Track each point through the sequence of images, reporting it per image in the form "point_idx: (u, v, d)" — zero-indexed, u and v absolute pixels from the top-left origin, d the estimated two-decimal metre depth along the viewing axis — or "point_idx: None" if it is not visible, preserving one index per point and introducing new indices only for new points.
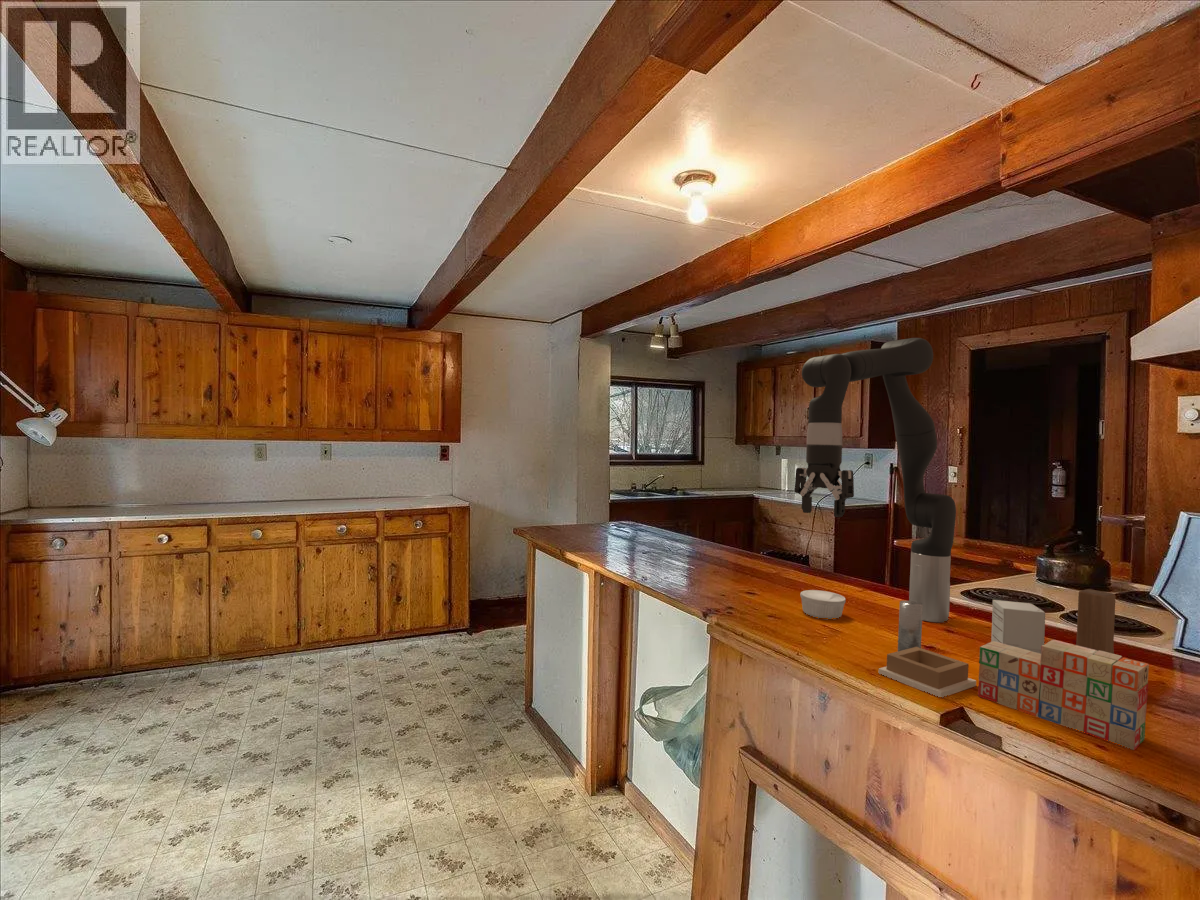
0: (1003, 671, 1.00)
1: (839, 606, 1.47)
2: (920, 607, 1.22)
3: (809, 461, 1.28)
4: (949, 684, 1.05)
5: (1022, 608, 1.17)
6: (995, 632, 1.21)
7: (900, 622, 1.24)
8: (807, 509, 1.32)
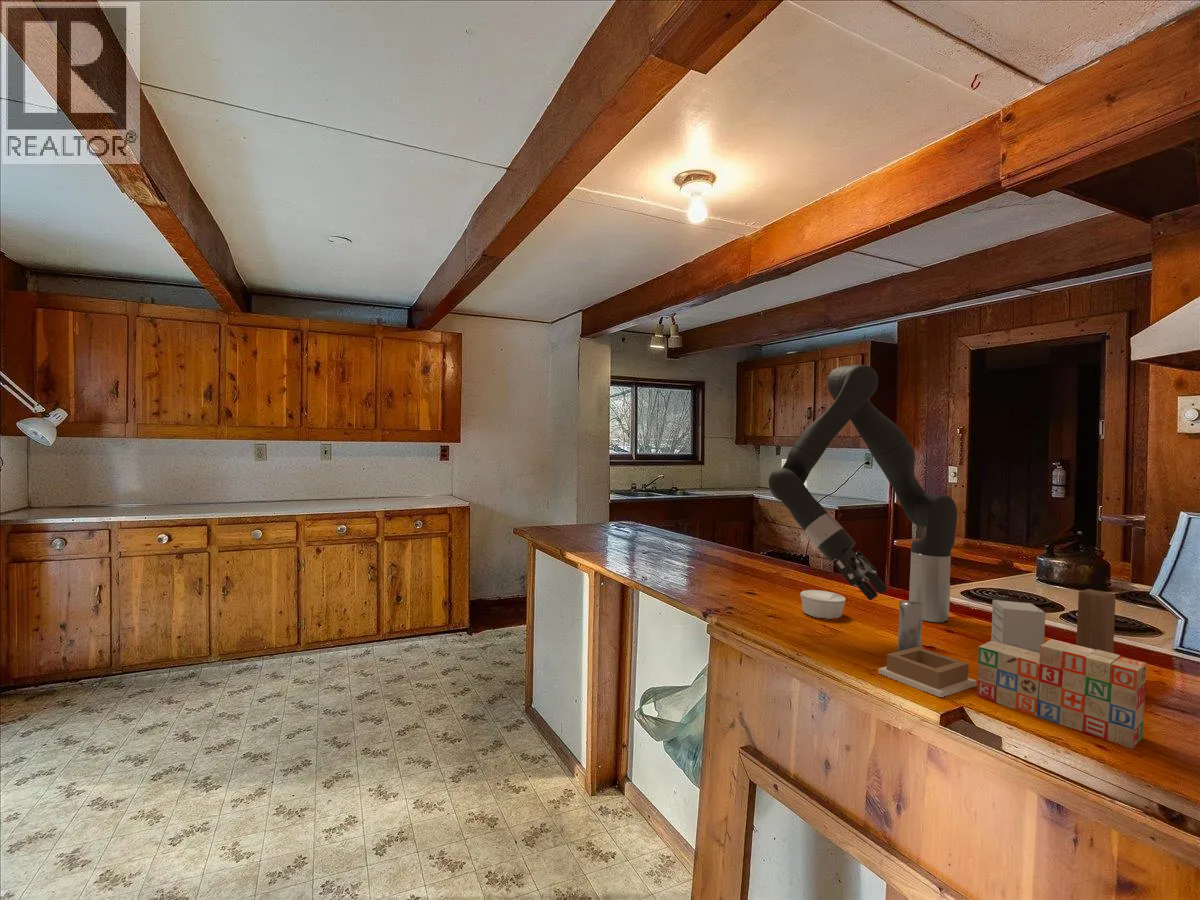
0: (1001, 671, 1.00)
1: (839, 606, 1.47)
2: (920, 607, 1.22)
3: None
4: (949, 684, 1.05)
5: (1022, 608, 1.17)
6: (995, 632, 1.21)
7: (900, 622, 1.24)
8: (880, 589, 1.31)
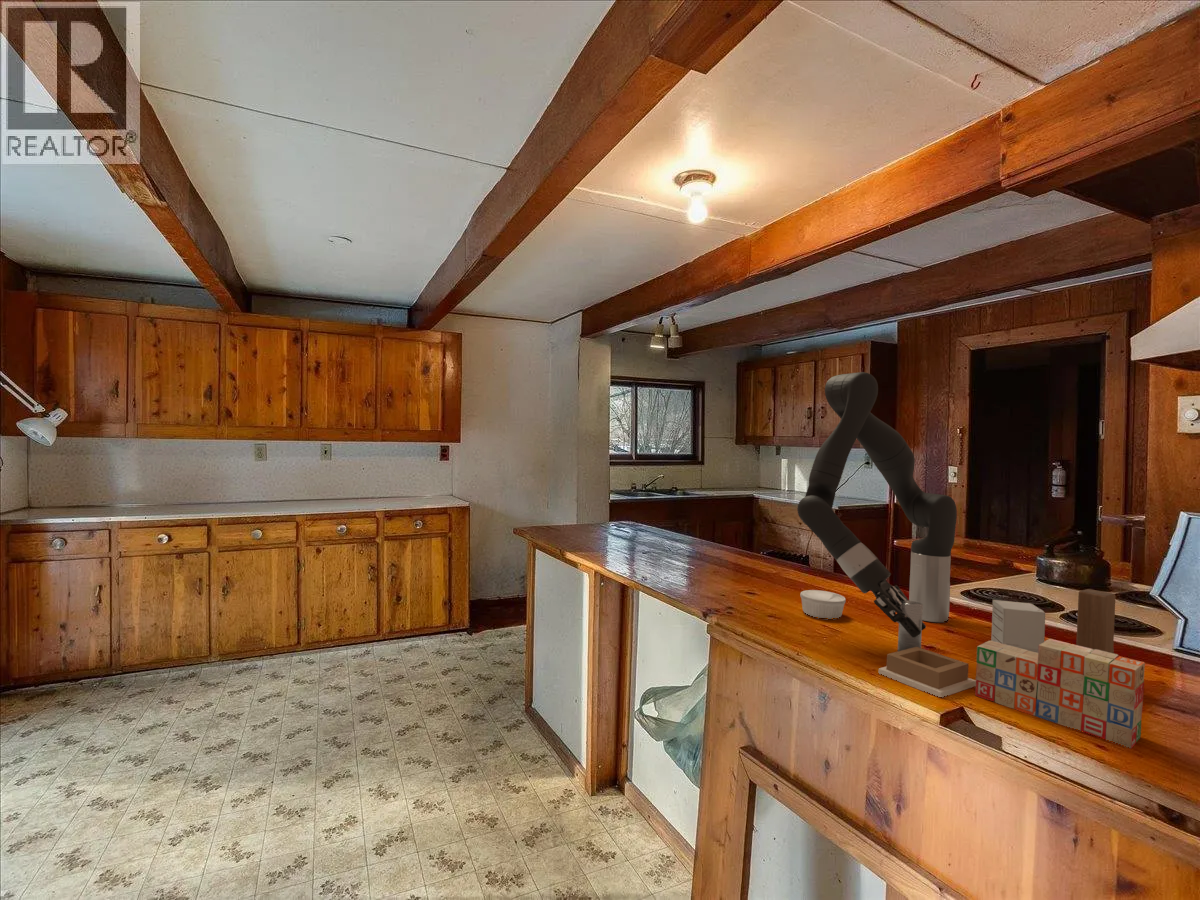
0: (1000, 670, 1.00)
1: (839, 606, 1.47)
2: (920, 607, 1.22)
3: None
4: (949, 684, 1.05)
5: (1022, 608, 1.17)
6: (995, 632, 1.21)
7: None
8: None
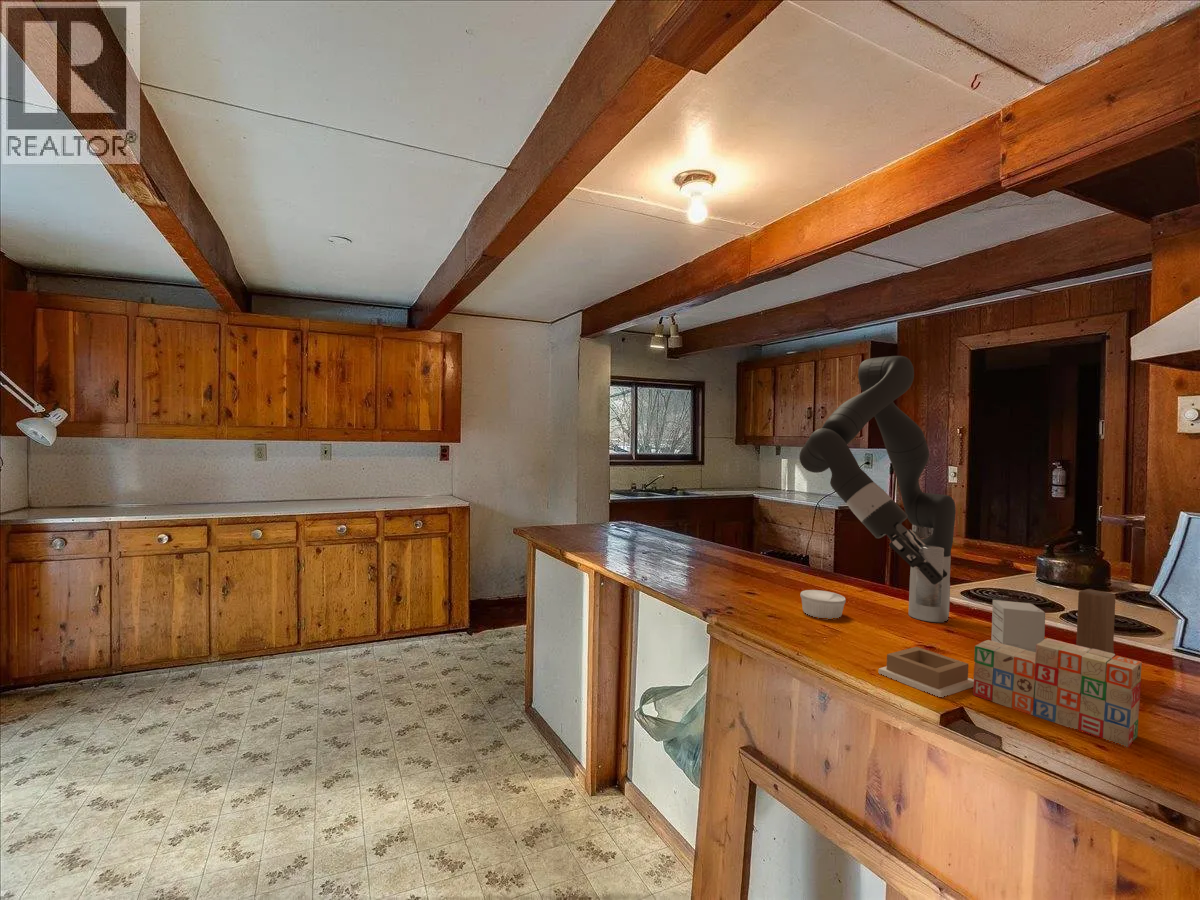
0: (998, 670, 1.00)
1: (839, 606, 1.47)
2: (941, 550, 1.08)
3: None
4: (949, 684, 1.05)
5: (1022, 608, 1.17)
6: (995, 632, 1.21)
7: None
8: None
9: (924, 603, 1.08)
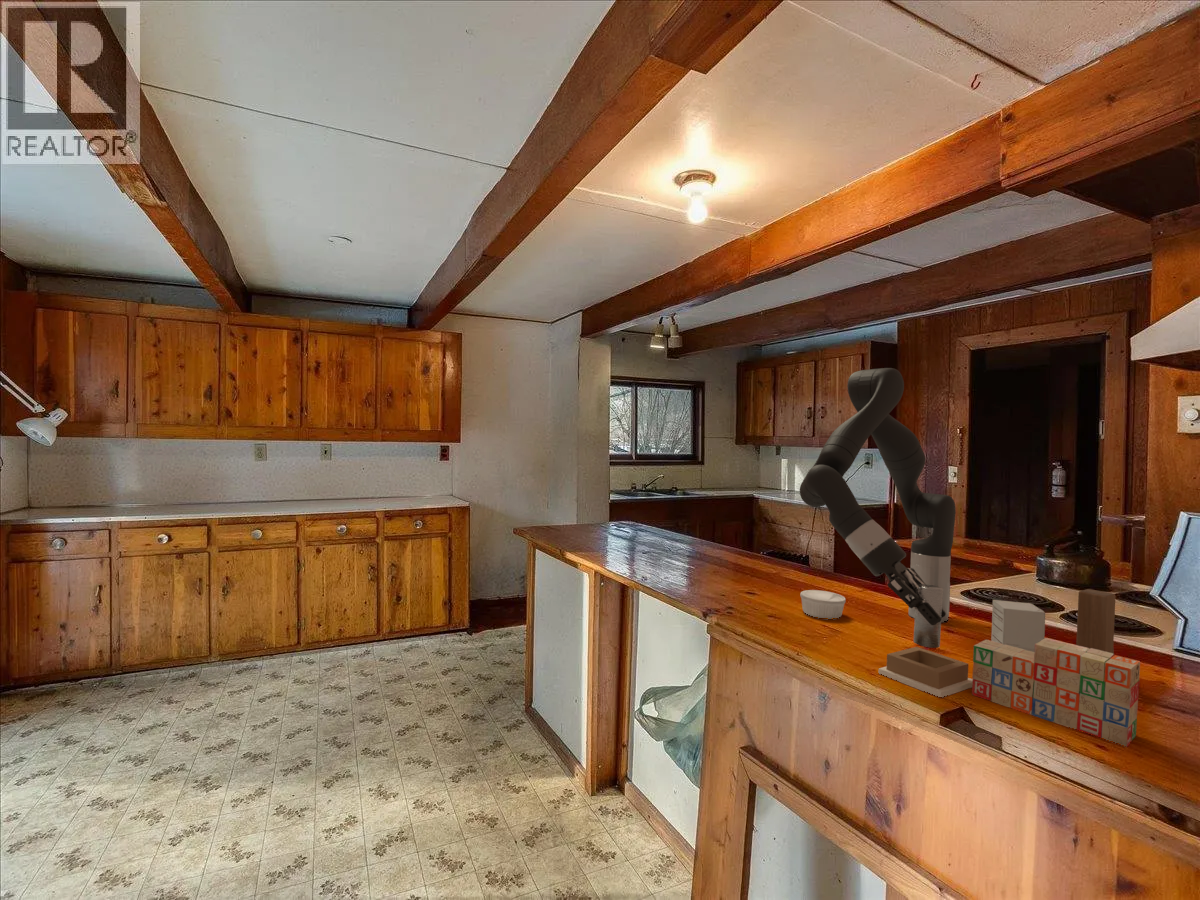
0: (996, 670, 1.00)
1: (839, 606, 1.47)
2: (940, 591, 1.08)
3: None
4: (949, 684, 1.05)
5: (1022, 608, 1.17)
6: (995, 632, 1.21)
7: None
8: None
9: (923, 643, 1.08)
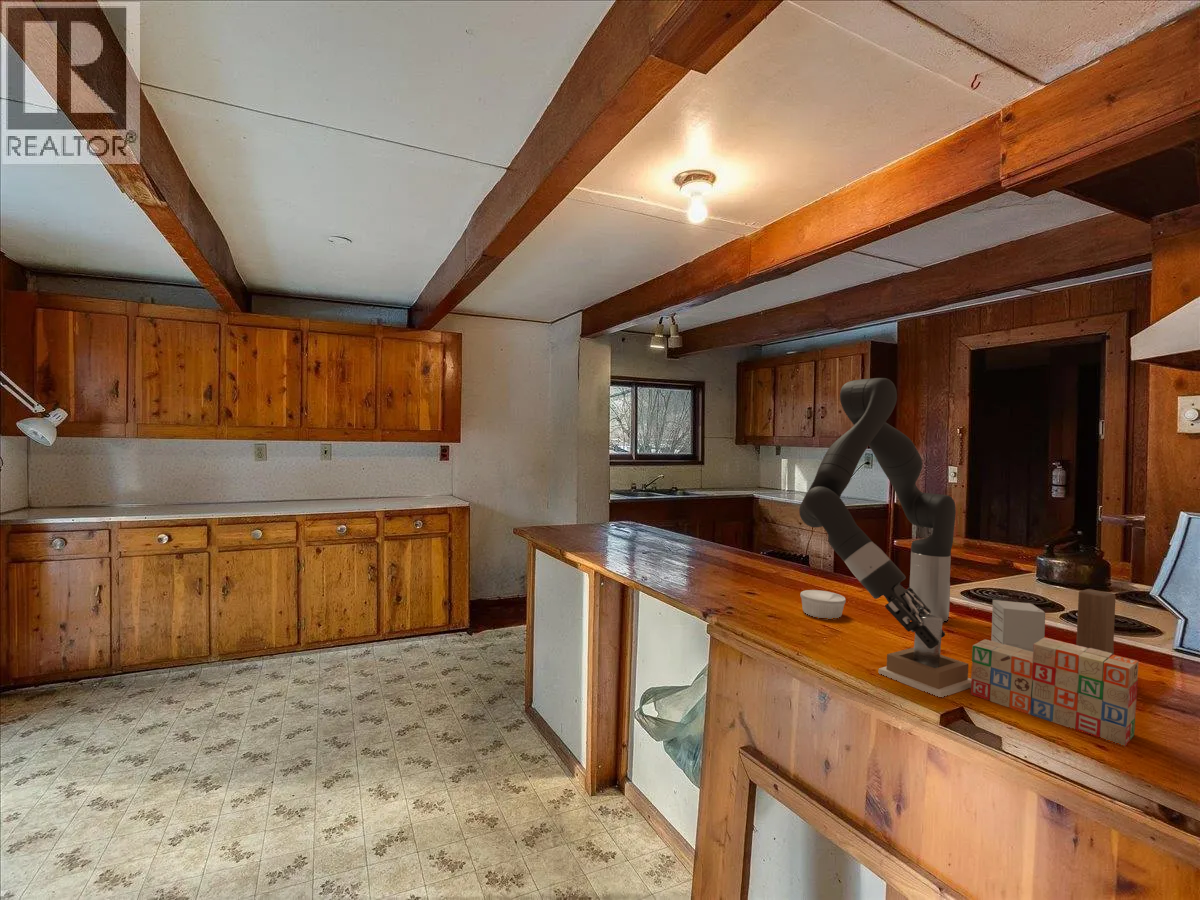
0: (995, 669, 1.00)
1: (839, 606, 1.47)
2: (940, 622, 1.08)
3: None
4: (949, 684, 1.05)
5: (1022, 608, 1.17)
6: (995, 632, 1.21)
7: (916, 638, 1.10)
8: None
9: None
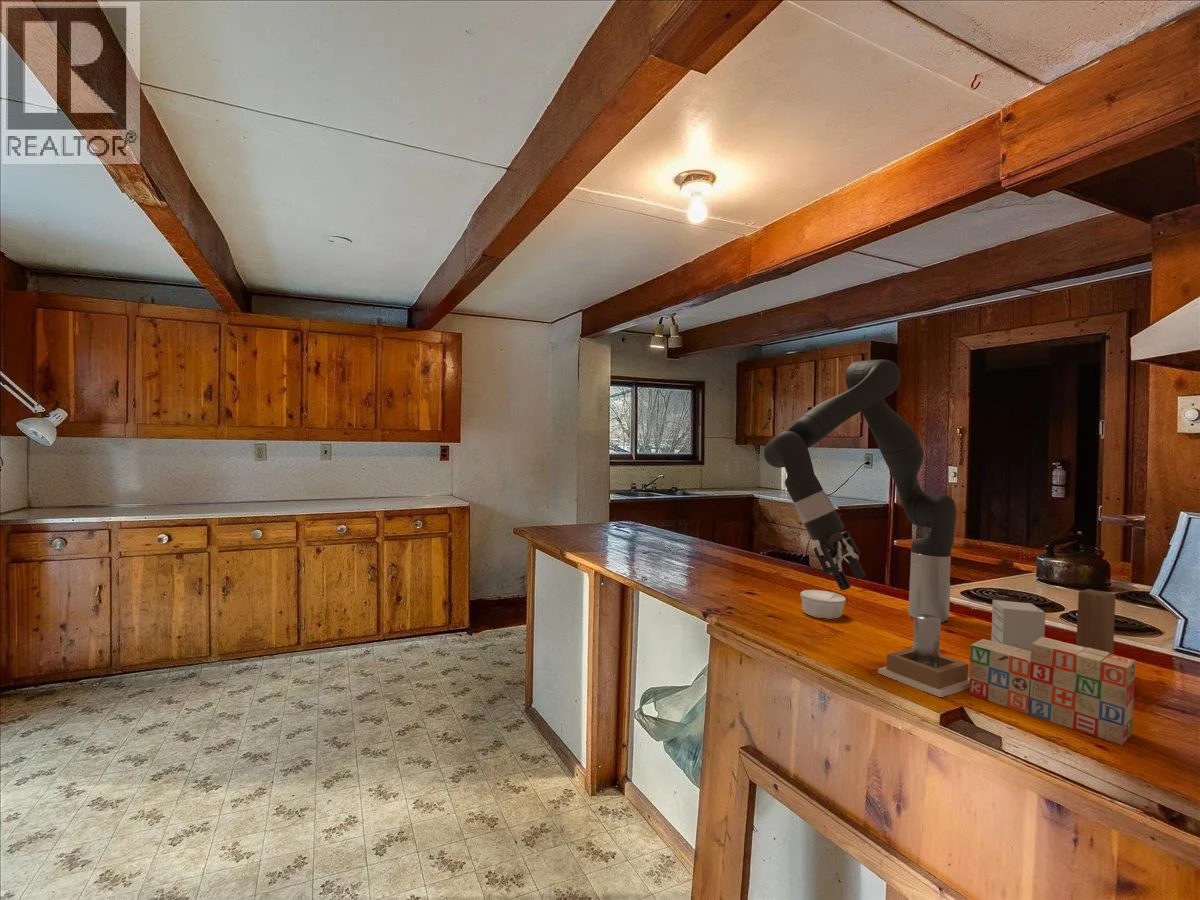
0: (993, 669, 1.01)
1: (839, 606, 1.47)
2: (938, 622, 1.08)
3: None
4: (949, 684, 1.05)
5: (1022, 608, 1.17)
6: (995, 632, 1.21)
7: (915, 639, 1.10)
8: (857, 575, 1.27)
9: None
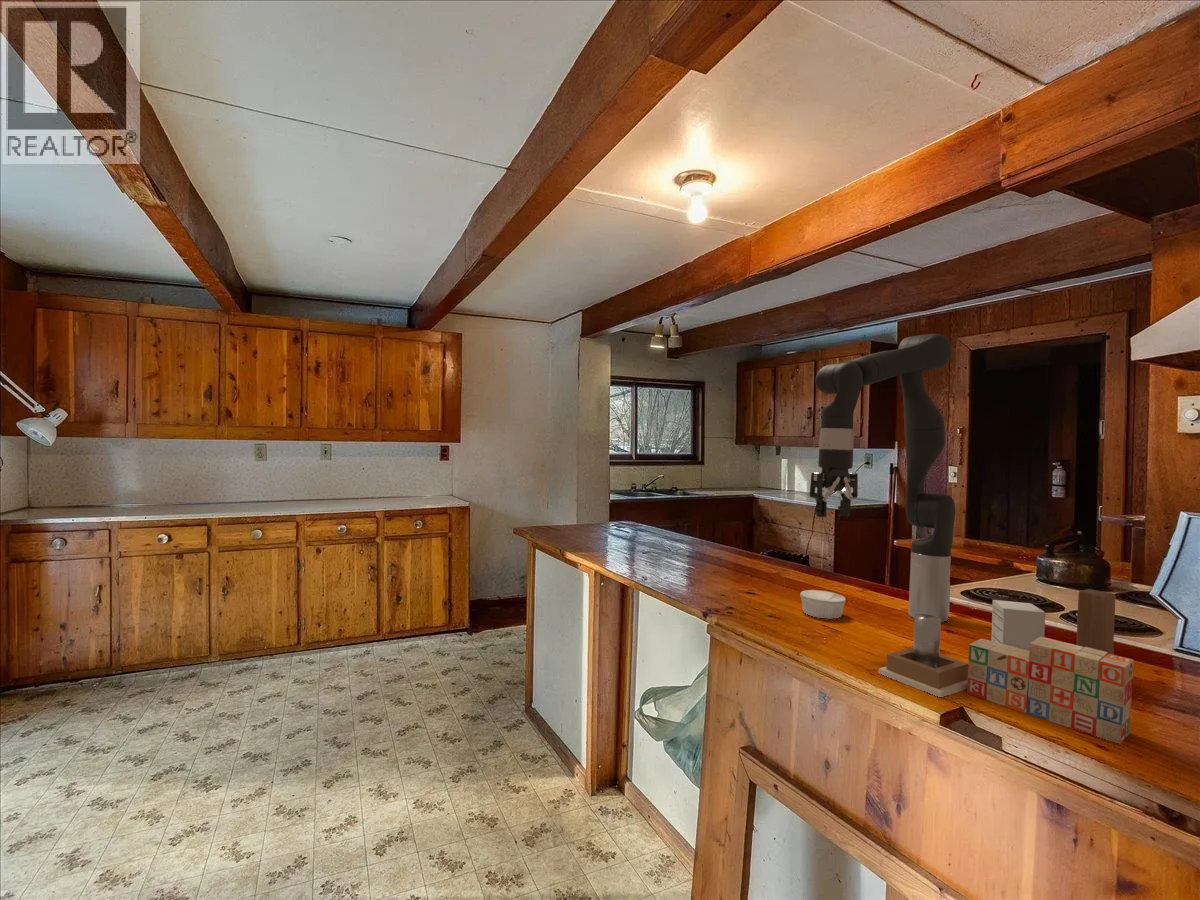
0: (992, 668, 1.01)
1: (839, 606, 1.47)
2: (938, 622, 1.08)
3: None
4: (949, 684, 1.05)
5: (1022, 608, 1.17)
6: (995, 632, 1.21)
7: (915, 639, 1.10)
8: (842, 512, 1.37)
9: None
